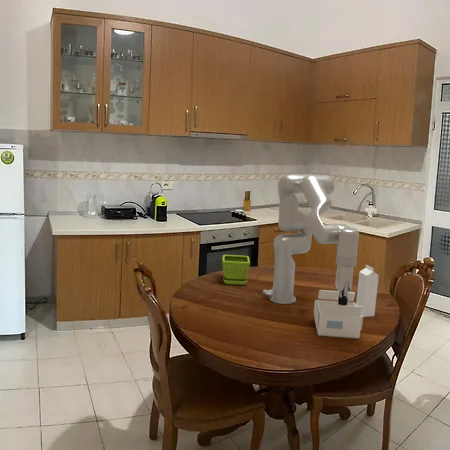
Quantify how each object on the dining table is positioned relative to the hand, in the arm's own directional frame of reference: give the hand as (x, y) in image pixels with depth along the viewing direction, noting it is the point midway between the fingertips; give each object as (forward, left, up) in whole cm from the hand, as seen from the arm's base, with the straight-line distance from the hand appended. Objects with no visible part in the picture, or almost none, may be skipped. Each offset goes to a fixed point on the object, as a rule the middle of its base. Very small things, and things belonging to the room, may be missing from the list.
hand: (342, 306), depth 189 cm
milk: (+15, +28, -13) cm, 34 cm away
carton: (0, +9, -13) cm, 16 cm away
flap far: (0, +15, -1) cm, 16 cm away
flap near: (0, 0, -1) cm, 1 cm away
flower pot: (-45, +61, -13) cm, 77 cm away
